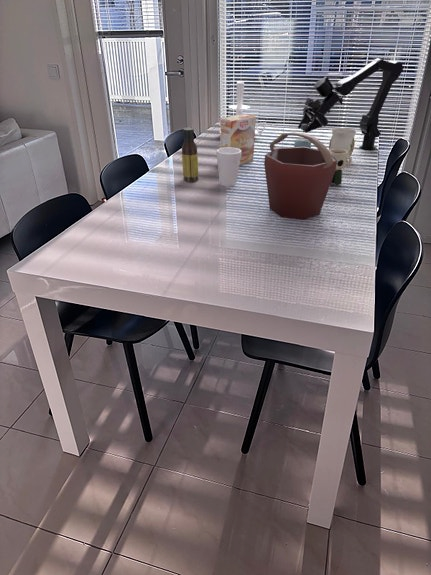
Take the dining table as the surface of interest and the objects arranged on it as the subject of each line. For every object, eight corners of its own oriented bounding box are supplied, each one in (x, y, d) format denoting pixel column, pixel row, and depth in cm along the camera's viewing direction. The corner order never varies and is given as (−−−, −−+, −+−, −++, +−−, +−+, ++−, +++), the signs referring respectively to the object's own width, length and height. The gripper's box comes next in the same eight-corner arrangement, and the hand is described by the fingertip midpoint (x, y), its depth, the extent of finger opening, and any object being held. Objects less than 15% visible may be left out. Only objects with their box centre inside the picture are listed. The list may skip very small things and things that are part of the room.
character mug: (318, 185, 170) (322, 152, 163) (320, 179, 175) (324, 147, 168) (346, 188, 167) (352, 154, 160) (347, 182, 173) (353, 149, 166)
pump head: (303, 130, 207) (303, 123, 205) (309, 131, 205) (310, 124, 203) (299, 131, 205) (299, 124, 203) (305, 132, 203) (306, 125, 201)
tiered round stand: (298, 146, 218) (299, 135, 215) (320, 151, 211) (322, 139, 208) (283, 151, 210) (284, 139, 207) (305, 157, 203) (307, 144, 200)
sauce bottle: (198, 177, 177) (197, 126, 166) (198, 182, 171) (197, 130, 161) (182, 177, 176) (181, 126, 166) (182, 182, 171) (180, 130, 160)
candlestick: (261, 144, 221) (265, 84, 206) (215, 141, 226) (215, 82, 211) (267, 135, 238) (271, 79, 223) (224, 132, 243) (225, 77, 228)
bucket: (251, 201, 155) (255, 129, 141) (303, 193, 162) (312, 124, 149) (286, 228, 136) (295, 148, 122) (344, 217, 143) (358, 140, 130)
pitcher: (353, 155, 205) (358, 125, 198) (349, 166, 191) (355, 134, 183) (330, 153, 208) (334, 123, 201) (324, 163, 194) (329, 132, 186)
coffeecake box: (229, 167, 188) (231, 120, 177) (219, 164, 192) (219, 117, 182) (254, 161, 196) (256, 116, 186) (243, 157, 201) (245, 113, 190)
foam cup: (243, 182, 172) (245, 149, 165) (234, 189, 165) (235, 155, 158) (221, 178, 176) (222, 146, 168) (212, 185, 168) (212, 152, 161)
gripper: (309, 88, 204) (284, 113, 208) (325, 94, 189) (298, 122, 193) (322, 105, 210) (298, 130, 214) (339, 113, 194) (313, 139, 198)
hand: (301, 129), depth 204 cm, fingers open, 8 cm apart
